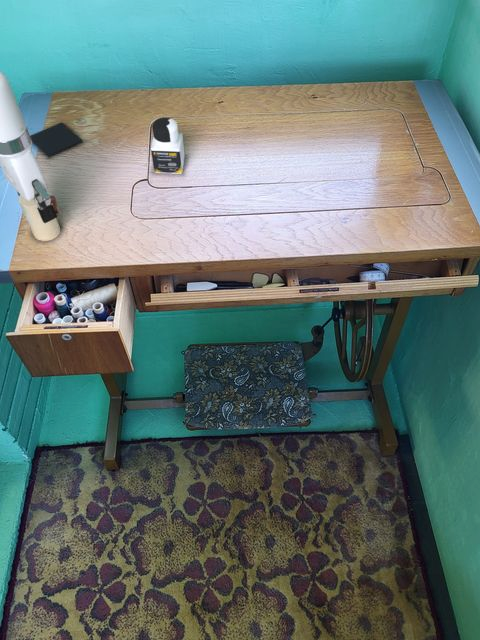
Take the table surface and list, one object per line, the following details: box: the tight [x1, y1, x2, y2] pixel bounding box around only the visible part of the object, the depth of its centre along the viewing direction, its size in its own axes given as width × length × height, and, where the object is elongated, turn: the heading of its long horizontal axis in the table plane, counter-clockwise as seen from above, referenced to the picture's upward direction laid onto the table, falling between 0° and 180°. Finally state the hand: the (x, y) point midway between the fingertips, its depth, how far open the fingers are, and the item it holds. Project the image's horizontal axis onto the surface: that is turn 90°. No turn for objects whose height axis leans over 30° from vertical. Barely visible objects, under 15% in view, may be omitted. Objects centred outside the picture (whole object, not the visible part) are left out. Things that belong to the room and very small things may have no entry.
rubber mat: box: [30, 122, 83, 158], centre depth 138 cm, size 10×10×1 cm
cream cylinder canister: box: [17, 190, 61, 242], centre depth 117 cm, size 8×6×10 cm
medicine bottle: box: [150, 117, 186, 175], centre depth 130 cm, size 7×7×12 cm
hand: (38, 208), depth 115 cm, fingers open, 9 cm apart
